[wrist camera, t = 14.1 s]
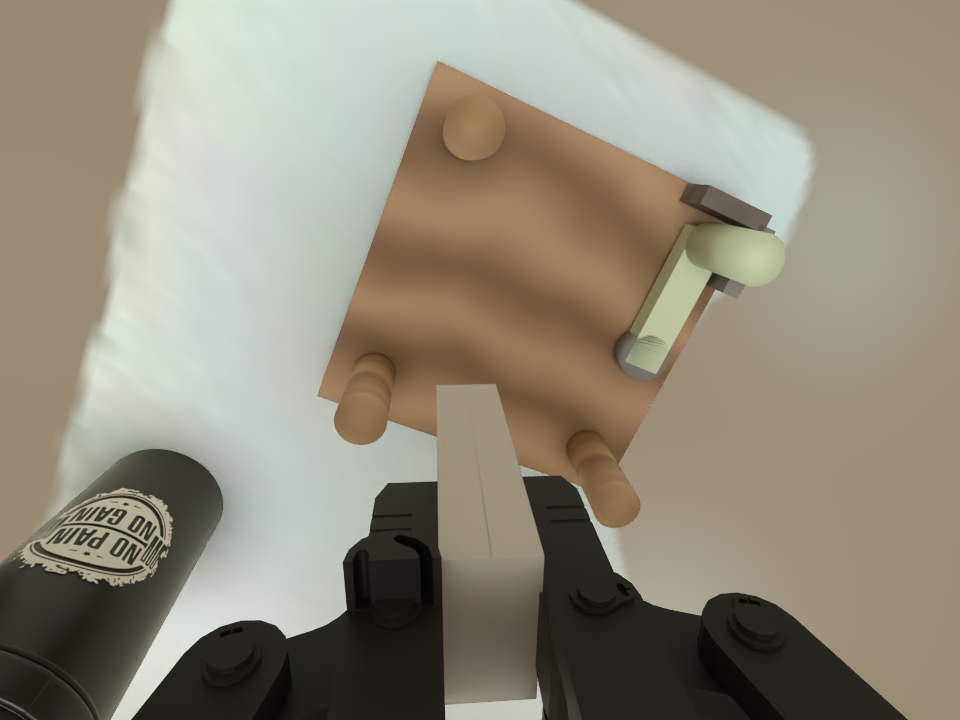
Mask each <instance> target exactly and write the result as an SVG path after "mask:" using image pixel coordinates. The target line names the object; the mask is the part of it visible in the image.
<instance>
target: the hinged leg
mask: <svg viewBox="0 0 960 720" xmlns="http://www.w3.org/2000/svg"><path fill="white" fill-rule="evenodd" d="M785 257H786V252H785V247H784V245H783V243H782V241H781V240H780V239H779V238H778V237H777V236H775V235H774V234H771V233H767V232H762V231H757V230H752V229H747V228H742V227H737V226H732V225H727V224H722V223H717V222H705V223H702V224H700V225H698V226H693V225H689V224H685V226H684V228H683V230H682V232H681V234H680V236H679V237H678V239H677V241H676V243H675V245H674V247H673V249H672V251H671V253H670V255H669V256H668V258H667V260H666V262H665V264H664V266H663V268H662V270H661V272H660V274H659V275H658V277H657V279H656V281H655V283H654V285H653V287H652V289H651V291H650V293H649V295H648V296H647V298H646V300H645V302H644V304H643V306H642V308H641V310H640V312H639V314H638V315H637V317H636V319H635V321H634V323H633V325H632V327H631V329H630V331H628V332H627V333H625V334H624V335H623V336H622V337H621V338H620V339H619V340H618V342H617V344H616V346H615V351H614V356H615V360H616V362H617V364H618V365H619V367H620V368H621V369H622V370H623V371H624V372H625V373H626V374H627V375H628V376H629V377H630V378H632V379H634V380H636V381H649V380H652V379H654V378H656V377H658V376H659V375H660V374H661V373H662V372H663V371H664V370H665V369H666V367H667V365H668V362H669V356H670V355H669V350H670V348H671V346H672V345H673V343H674V341H675V339H676V337H677V336H678V334H679V332H680V330H681V328H682V327H683V325H684V323H685V321H686V319H687V318H688V316H689V314H690V312H691V310H692V309H693V307H694V305H695V303H696V301H697V300H698V298H699V296H700V294H701V292H702V290H703V289H704V287H705V285H706V283H707V281H708V280H709V278H710V276H711V274H712V272H713V273H716V274H719V275H721V276H724V277H727V278H729V279H732V280H734V281H737V282H740V283H742V284H745V285H747V286H753V287H756V286H762V285H765V284H767V283H769V282H771V281H772V280H773V279H774V278H775V277H776V276H777V275H778V274H779V273H780V271H781V270H782V268H783V265H784V262H785Z"/></svg>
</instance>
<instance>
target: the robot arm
mask: <svg viewBox="0 0 960 720" xmlns="http://www.w3.org/2000/svg"><path fill="white" fill-rule="evenodd" d="M436 387H437V472H438V482H410V483H388V484H387V485H386V486H385V488H384V489H383V490H382V491H381V492H380V493H379V495H378V496H377V497H376V498H375V503H374V509H373V514H372V520H371V526H370V533H369V536H368V537H366V538H363V539H361V540H360V541H359V542H358V543H357V544H355V545H354V546H353V547H352V548H351V549H349V551H348V553H347V555H346V557H345V559H344V561H343V570H344V581H345V592H346V603H347V610H346V611H345V612H344V613H343V614H342V615H341V616H340V617H338V618H337V619H335V620H334V621H332V622H330V623H329V624H327V625H325V626H323V627H320V628H318V629H315V630H313V631H310V632H306V633H303V634H300V635H297V636H294V637H290V638H287V639H286V636H285V635H284V634H283V633H282V632H281V631H280V630H279V629H278V628H277V626H275V625H272V624H269V623H266V622H264V621H261V620H256V621H239V622H235V623H232V624H228V625H225V626H222V627H219V628H217V629H216V630H214V631H212V632H210V633H209V634H207V635H205V636H203V637H202V638H200V639H199V640H198V641H197V642H196V643H195V644H194V645H193V646H192V647H191V648H190V649H188V650H187V651H186V652H185V653H184V654H183V656H182V657H181V658H180V659H179V661H178V662H177V663H176V664H175V666H174V667H173V668H172V669H171V671H170V672H169V673H168V674H167V676H166V677H165V678H164V679H163V681H162V682H161V683H160V684H159V686H158V687H157V688H156V689H155V691H154V692H153V693H152V694H151V696H150V697H149V698H148V699H147V701H146V702H145V703H144V704H143V706H142V707H141V708H140V709H139V711H138V712H137V713H136V714H135V716H134V717H133V718H132V719H131V720H445V705H446V704H461V703H477V702H492V701H508V700H523V699H536V695H537V677H538V682H539V687H540V692H541V697H542V702H543V712H542V720H908V719H906V718H905V717H904V716H903V715H902V714H901V713H900V712H899V711H898V710H896V709H895V708H894V707H893V706H892V705H891V704H889V702H888V701H886V700H885V699H884V698H883V697H882V696H881V695H880V694H879V693H877V692H876V691H875V690H874V689H873V688H872V687H871V686H870V685H869V684H867V683H866V682H865V681H864V680H863V679H862V678H861V677H860V676H859V675H857V674H856V673H855V672H854V671H853V670H852V669H851V668H850V667H849V666H847V665H846V664H845V663H844V662H843V661H842V660H841V659H840V658H839V657H837V656H836V655H835V654H834V653H833V652H832V651H831V650H830V649H828V648H827V647H826V646H825V645H824V644H823V643H822V642H821V641H820V640H818V639H817V638H816V637H815V636H814V635H813V634H812V633H811V632H810V631H808V630H807V629H806V628H805V627H804V626H803V625H802V624H801V623H799V622H798V621H797V620H796V619H795V618H794V617H793V616H791V615H790V614H788V613H787V612H786V611H784V610H783V609H781V608H780V607H778V606H777V605H775V604H773V603H771V602H769V601H766V600H763V599H761V598H759V597H757V596H752V595H747V594H741V593H728V594H720V595H718V596H716V597H714V598H712V599H710V600H708V602H707V604H706V605H705V607H704V609H703V611H702V616H699V615H694V614H689V613H684V612H679V611H674V610H669V609H665V608H661V607H658V606H655V605H652V604H650V603H648V602H645V601H643V599H642V597H641V595H640V594H639V592H638V591H637V590H636V588H635V587H634V586H633V584H632V583H631V582H629V581H628V580H626V579H625V578H623V577H622V576H621V575H619V574H618V573H615V572H614V571H613V569H612V567H611V565H610V562H609V560H608V558H607V556H606V553H605V551H604V549H603V547H602V544H601V542H600V540H599V537H598V535H597V533H596V531H595V528H594V526H593V524H592V522H590V517H589V515H588V513H587V510H586V508H584V504H583V501H582V499H581V497H580V495H579V492H578V490H577V489H576V488H575V487H574V486H573V485H572V484H570V483H569V482H568V481H567V480H566V479H565V478H563V477H562V476H534V477H522V475H521V471H520V468H519V464H518V461H517V457H516V454H515V450H514V446H513V443H512V439H511V436H510V432H509V429H508V425H507V422H506V418H505V415H504V411H503V408H502V404H501V400H500V397H499V393H498V390H497V386H496V384H469V385H436Z"/></svg>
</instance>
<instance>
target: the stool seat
mask: <svg viewBox="0 0 960 720" xmlns="http://www.w3.org/2000/svg"><path fill="white" fill-rule="evenodd" d="M771 217H772V215H770V214H768V213H766V212H764V211H762V210H760V209H757V208H755V207H753V206H751V205H749V204H747V203H745V202H743V201H741V200H739V199H737V198H735V197H733V196H731V195H729V194H727V193H725V192H723V191H721V190H718V189H716V188H714V187H712V186H710V185H698V184H691V183H689V182H687V181H685V180H683V179H681V178H679V177H677V176H675V175H672V174H670V173H668V172H666V171H664V170H662V169H660V168H658V167H656V166H654V165H652V164H650V163H648V162H646V161H644V160H641V159H639V158H637V157H635V156H633V155H631V154H629V153H627V152H625V151H623V150H621V149H619V148H617V147H615V146H613V145H611V144H608V143H606V142H604V141H602V140H600V139H598V138H596V137H594V136H592V135H590V134H588V133H586V132H584V131H582V130H580V129H577V128H575V127H573V126H571V125H569V124H567V123H565V122H563V121H561V120H559V119H557V118H555V117H553V116H551V115H549V114H547V113H544V112H542V111H540V110H538V109H536V108H534V107H532V106H530V105H528V104H526V103H524V102H522V101H520V100H518V99H516V98H513V97H511V96H509V95H507V94H505V93H503V92H501V91H499V90H497V89H495V88H493V87H491V86H489V85H487V84H485V83H483V82H480V81H478V80H476V79H474V78H472V77H470V76H468V75H466V74H464V73H462V72H460V71H458V70H456V69H454V68H452V67H449V66H447V65H445V64H443V63H441V62H439V61H437V63H436V66H435V69H434V72H433V74H432V77H431V80H430V83H429V86H428V88H427V91H426V94H425V97H424V99H423V102H422V105H421V108H420V111H419V113H418V116H417V119H416V122H415V125H414V127H413V130H412V133H411V136H410V139H409V141H408V144H407V147H406V150H405V152H404V155H403V158H402V161H401V164H400V166H399V169H398V172H397V175H396V178H395V180H394V183H393V186H392V189H391V191H390V194H389V197H388V200H387V203H386V205H385V208H384V211H383V214H382V217H381V219H380V222H379V225H378V228H377V230H376V233H375V236H374V239H373V242H372V244H371V247H370V250H369V253H368V256H367V258H366V261H365V264H364V267H363V270H362V272H361V275H360V278H359V281H358V283H357V286H356V289H355V292H354V295H353V297H352V300H351V303H350V306H349V309H348V311H347V314H346V317H345V320H344V322H343V325H342V328H341V331H340V334H339V336H338V339H337V342H336V345H335V348H334V350H333V353H332V356H331V359H330V362H329V364H328V367H327V370H326V373H325V375H324V378H323V381H322V384H321V387H320V389H319V392H318V395H317V396H319V397H322V398H325V399H328V400H331V401H334V402H336V403H339V406H338V408H337V411H336V413H335V417H334V424H335V428H336V430H337V432H338V434H339V435H340V436H341V437H342V438H343V439H345V440H346V441H348V442H350V443H353V444H358V445H365V444H370V443H372V442H374V441H376V440H378V439H379V438H380V437H381V436H382V435H383V433H384V431H385V429H386V425H387V420H389V421H392V422H395V423H398V424H401V425H404V426H407V427H410V428H413V429H416V430H419V431H422V432H425V433H427V434H430V435H433V436H436V437H437V387H436V385H469V384H496V386H497V390H498V393H499V397H500V400H501V404H502V408H503V411H504V415H505V418H506V422H507V425H508V429H509V432H510V436H511V439H512V443H513V446H514V450H515V454H516V457H517V461H518V464H519V465H521V466H524V467H527V468H530V469H533V470H536V471H539V472H542V473H545V474H548V475H551V476H562V477H563V478H565V479H566V480H567V481H568V482H571V483H574V484H577V485H580V486H582V488H583V491H584V493H585V495H586V497H587V499H588V501H589V504H590V506H591V508H592V510H593V512H594V514H595V517H596V519H597V520H598V521H599V522H600V523H601V524H602V525H604V526H606V527H610V528H618V527H622V526H625V525H627V524H629V523H630V522H632V521H633V520H634V519H635V518H636V516H637V515H638V513H639V510H640V500H639V498H638V496H637V494H636V493H635V491H634V490H633V488H632V487H631V485H630V483H629V481H628V480H627V478H626V477H625V475H624V473H623V472H622V470H621V468H620V467H619V465H618V464H619V462H620V460H621V458H622V457H623V455H624V453H625V451H626V449H627V448H628V446H629V444H630V442H631V440H632V439H633V437H634V435H635V433H636V431H637V430H638V428H639V426H640V424H641V422H642V421H643V419H644V417H645V415H646V413H647V411H648V410H649V408H650V406H651V404H652V403H653V401H654V399H655V397H656V395H657V393H658V392H659V390H660V388H661V386H662V385H663V383H664V381H665V379H666V377H667V375H668V374H669V372H670V370H671V368H672V367H673V365H674V363H675V361H676V359H677V358H678V356H679V354H680V352H681V350H682V349H683V347H684V345H685V343H686V341H687V340H688V338H689V336H690V334H691V332H692V331H693V329H694V327H695V325H696V323H697V322H698V320H699V318H700V316H701V314H702V313H703V311H704V309H705V307H706V305H707V304H708V302H709V300H710V298H711V296H712V295H713V293H714V291H715V289H716V290H719V291H721V292H723V293H726V294H728V295H730V296H732V297H735V298H738V297H739V295H740V293H741V291H742V290H743V288H744V286H745V284H742V283H740V282H737V281H734V280H732V279H729V278H727V277H724V276H721V275H719V274H716V273H713V272H712V274H711V276H710V278H709V280H708V281H707V283H706V285H705V287H704V289H703V290H702V292H701V294H700V296H699V298H698V300H697V301H696V303H695V305H694V307H693V309H692V310H691V312H690V314H689V316H688V318H687V319H686V321H685V323H684V325H683V327H682V328H681V330H680V332H679V334H678V336H677V337H676V339H675V341H674V343H673V345H672V346H671V348H670V350H669V355H670V356H669V362H668V365H667V367H666V369H665V370H664V371H663V372H662V373H661V374H660V375H659V376H658V377H656V378H654V379H652V380H649V381H636V380H634V379H632V378H630V377H629V376H628V375H627V374H626V373H625V372H624V371H623V370H622V369H621V368H620V367H619V365H618V364H617V362H616V360H615V356H614V351H615V346H616V344H617V342H618V340H619V339H620V338H621V337H622V336H623V335H624V334H625V333H627V332H628V331H630V329H631V327H632V325H633V323H634V321H635V319H636V317H637V315H638V314H639V312H640V310H641V308H642V306H643V304H644V302H645V300H646V298H647V296H648V295H649V293H650V291H651V289H652V287H653V285H654V283H655V281H656V279H657V277H658V275H659V274H660V272H661V270H662V268H663V266H664V264H665V262H666V260H667V258H668V256H669V255H670V253H671V251H672V249H673V247H674V245H675V243H676V241H677V239H678V237H679V236H680V234H681V232H682V230H683V228H684V226H685V224H689V225H693V226H698V225H700V224H702V223H705V222H717V223H722V224H727V225H732V226H737V227H742V228H747V229H752V230H757V231H762V232H767V233H771V234H775V231H773V230H771V229H769V228H767V227H766V226H767V224H768V223H769V221H770V219H771Z"/></svg>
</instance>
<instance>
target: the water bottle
mask: <svg viewBox="0 0 960 720" xmlns="http://www.w3.org/2000/svg"><path fill="white" fill-rule="evenodd" d="M222 510H223V500H222V495H221V491H220V489H219V486H218V484H217V482H216V481H215V479H214V478H213V476H212V475H211V474H210V473H209V472H208V471H207V470H206V469H205V468H204V467H203V466H202V465H200V464H199V463H197V462H196V461H194V460H193V459H191V458H189V457H187V456H185V455H182V454H179V453H176V452H172V451H167V450H143V451H139V452H135V453H132V454H130V455H128V456H126V457H124V458H122V459H121V460H119V461H118V462H117V463H116V464H115V465H113V466H112V467H111V468H110V469H109V470H108V471H106V472H105V473H104V474H103V475H102V476H101V477H99V478H98V479H97V480H96V481H95V482H94V483H93V484H91V485H90V486H89V487H88V488H87V489H86V490H84V491H83V492H82V493H81V494H80V495H79V496H78V497H76V498H75V499H74V500H73V501H72V502H71V503H69V504H68V505H67V506H66V507H65V508H64V509H62V510H61V511H60V512H59V513H58V514H57V515H56V516H54V517H53V518H52V519H51V520H50V521H49V522H47V523H46V524H45V525H44V526H43V527H42V528H40V529H39V530H38V531H37V532H36V533H35V534H34V535H32V536H31V537H30V538H29V539H28V540H27V541H25V542H24V543H23V544H22V545H21V546H20V547H19V548H17V549H16V550H15V551H14V552H13V553H12V554H10V555H9V556H8V557H7V558H6V559H5V560H4V561H2V562H1V563H0V720H111V718H112V716H113V714H114V712H115V711H116V709H117V707H118V705H119V703H120V701H121V700H122V698H123V696H124V694H125V692H126V691H127V689H128V687H129V685H130V683H131V681H132V680H133V678H134V676H135V674H136V672H137V670H138V669H139V667H140V665H141V663H142V661H143V659H144V658H145V656H146V654H147V652H148V650H149V648H150V647H151V645H152V643H153V641H154V639H155V637H156V636H157V634H158V632H159V630H160V628H161V627H162V625H163V623H164V621H165V619H166V617H167V616H168V614H169V612H170V610H171V608H172V606H173V605H174V603H175V601H176V599H177V597H178V595H179V594H180V592H181V590H182V588H183V586H184V584H185V583H186V581H187V579H188V577H189V575H190V574H191V572H192V570H193V568H194V566H195V564H196V563H197V561H198V559H199V557H200V555H201V553H202V552H203V550H204V548H205V546H206V544H207V542H208V541H209V539H210V537H211V535H212V533H213V531H214V530H215V528H216V526H217V524H218V522H219V520H220V518H221V515H222Z"/></svg>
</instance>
